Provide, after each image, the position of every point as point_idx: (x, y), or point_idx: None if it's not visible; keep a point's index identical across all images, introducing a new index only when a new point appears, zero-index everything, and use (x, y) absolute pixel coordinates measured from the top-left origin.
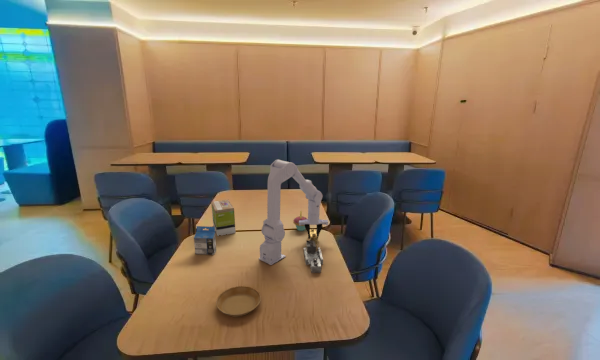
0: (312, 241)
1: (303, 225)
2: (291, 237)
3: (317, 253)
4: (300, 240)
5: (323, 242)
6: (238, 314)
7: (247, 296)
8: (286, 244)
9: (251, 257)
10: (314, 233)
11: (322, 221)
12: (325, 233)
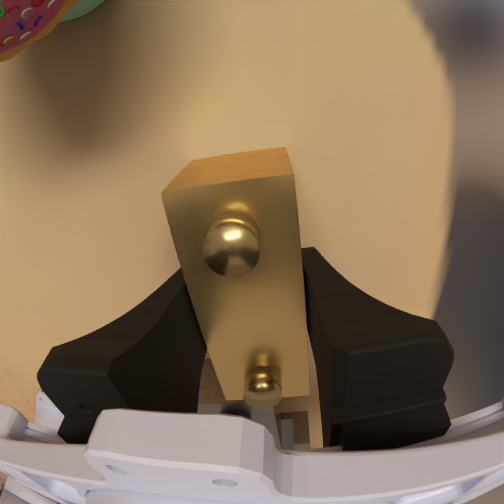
0: (251, 415)
1: (51, 27)
2: (28, 213)
3: (290, 433)
4: (119, 267)
5: (369, 291)
6: None
7: None
8: (50, 330)
9: (10, 404)
10: (271, 320)
11: (450, 496)
12: (424, 55)
